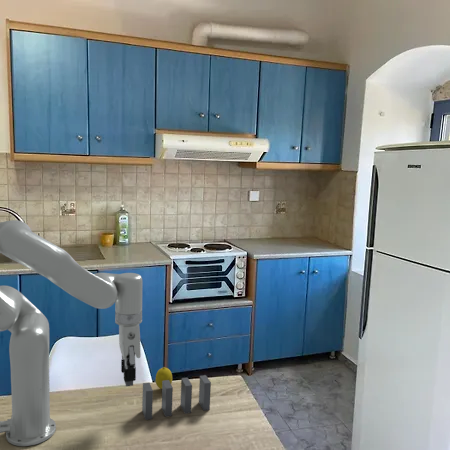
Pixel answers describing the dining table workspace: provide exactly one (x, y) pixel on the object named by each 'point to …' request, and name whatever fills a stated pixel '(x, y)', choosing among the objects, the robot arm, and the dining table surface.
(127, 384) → the domino
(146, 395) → the domino
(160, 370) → the lemon
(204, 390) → the domino
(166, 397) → the domino
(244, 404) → the dining table surface
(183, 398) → the domino
